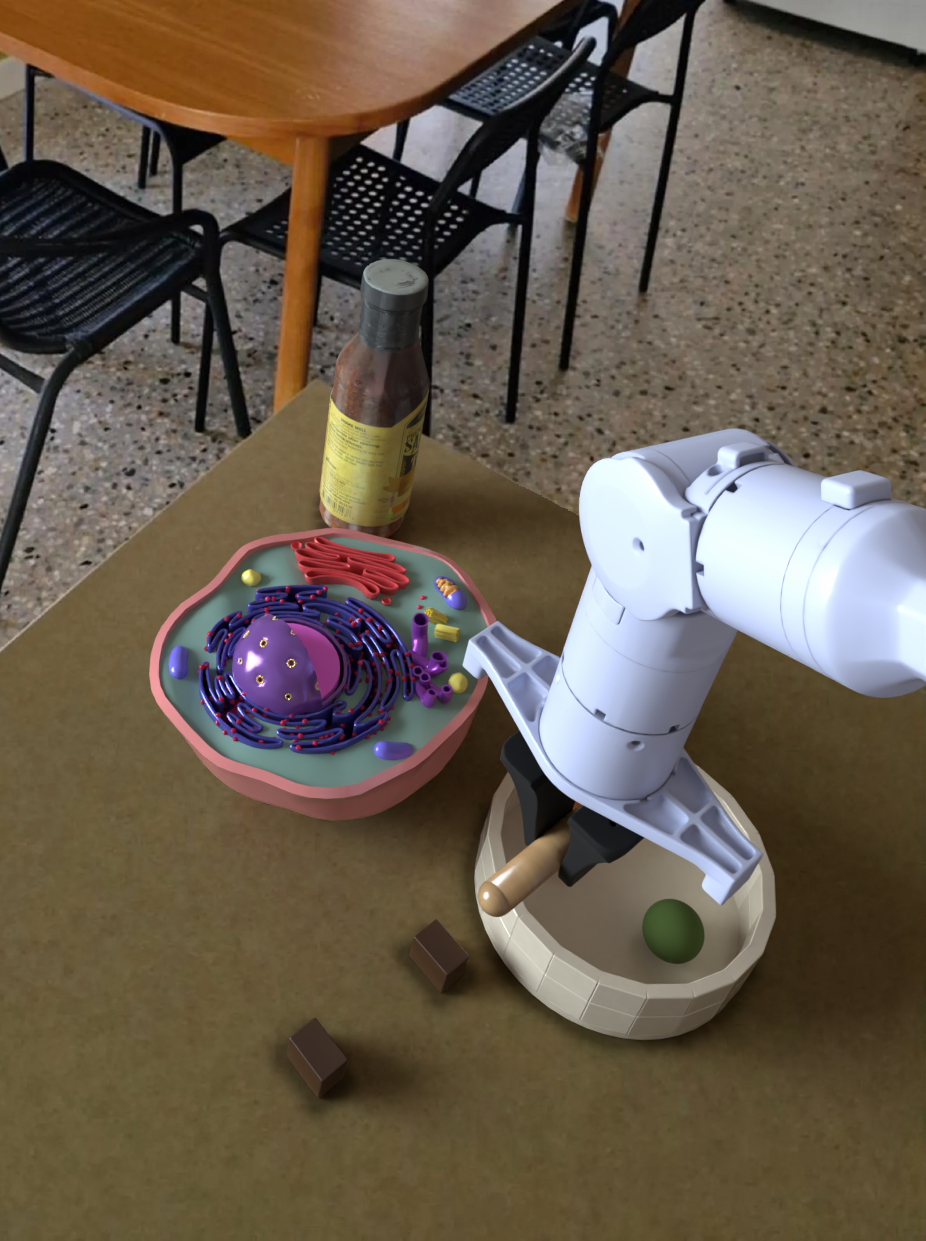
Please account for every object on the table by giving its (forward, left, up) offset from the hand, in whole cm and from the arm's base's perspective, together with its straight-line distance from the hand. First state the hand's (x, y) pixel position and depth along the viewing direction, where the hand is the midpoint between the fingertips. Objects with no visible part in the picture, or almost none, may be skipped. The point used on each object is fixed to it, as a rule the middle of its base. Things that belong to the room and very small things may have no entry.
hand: (560, 853), depth 59 cm
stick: (0, 0, 0) cm, 0 cm away
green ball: (-5, -5, -6) cm, 9 cm away
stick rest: (+2, +9, -8) cm, 12 cm away
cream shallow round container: (-1, -5, -8) cm, 10 cm away
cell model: (+16, +1, -9) cm, 18 cm away
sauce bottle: (+28, -13, -9) cm, 32 cm away
